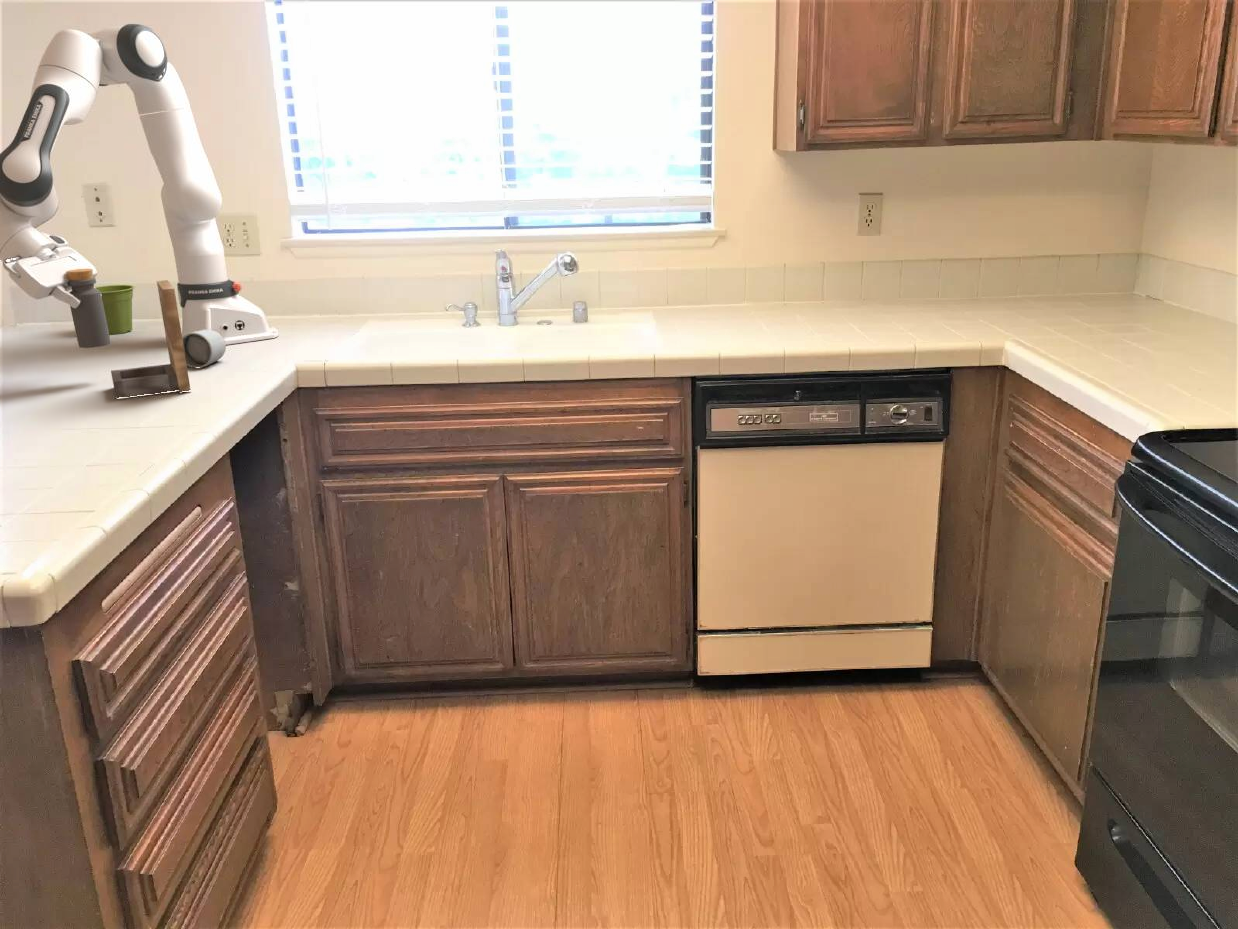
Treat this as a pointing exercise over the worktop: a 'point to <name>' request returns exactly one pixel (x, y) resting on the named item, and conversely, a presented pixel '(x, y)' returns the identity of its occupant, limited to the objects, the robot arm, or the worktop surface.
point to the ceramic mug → (203, 347)
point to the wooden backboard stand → (160, 375)
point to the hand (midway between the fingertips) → (89, 302)
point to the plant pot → (117, 307)
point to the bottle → (88, 310)
